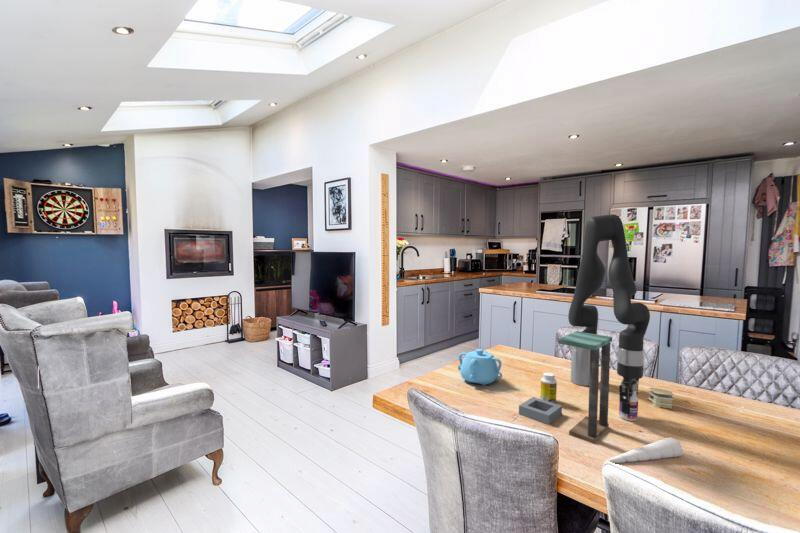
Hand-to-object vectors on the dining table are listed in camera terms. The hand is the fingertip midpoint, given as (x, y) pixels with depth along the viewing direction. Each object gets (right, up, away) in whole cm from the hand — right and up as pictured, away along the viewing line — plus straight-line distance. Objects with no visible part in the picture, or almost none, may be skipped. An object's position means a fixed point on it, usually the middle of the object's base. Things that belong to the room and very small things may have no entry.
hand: (628, 410), depth 126 cm
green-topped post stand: (-19, -3, -7) cm, 21 cm away
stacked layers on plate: (+18, -3, +10) cm, 21 cm away
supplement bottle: (-22, -2, +14) cm, 26 cm away
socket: (-29, -2, +3) cm, 29 cm away
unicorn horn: (-11, -4, -24) cm, 27 cm away
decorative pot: (-43, -1, +35) cm, 56 cm away
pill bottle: (0, -3, 0) cm, 3 cm away
